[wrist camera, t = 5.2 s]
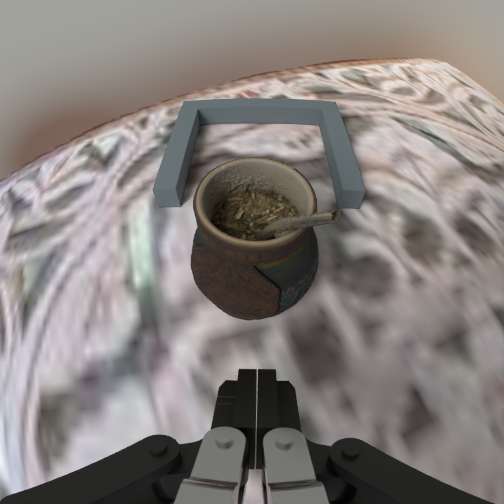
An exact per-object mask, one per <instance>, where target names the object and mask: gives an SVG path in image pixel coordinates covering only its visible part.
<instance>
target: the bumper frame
mask: <svg viewBox="0 0 504 504" xmlns="http://www.w3.org/2000/svg"><path fill="white" fill-rule="evenodd" d="M231 123H280V124H308V125H319V126H320V130H321V134H322V138H323V142H324V146H325V151H326V155H327V159H328V164H329V168H330V172H331V177H332V182H333V186H334V191H335V196H336V201H337V206H338V208H359V209H360V206H361V203H362V200H363V197H364V195H365V192H366V190H365V187H364V183H363V180H362V177H361V173H360V170H359V167H358V164H357V161H356V158H355V155H354V152H353V149H352V146H351V143H350V140H349V137H348V134H347V131H346V128H345V126H344V123H343V120H342V117H341V115H340V112H339V109H338V107H337V104H336V102H330V101H317V100H299V99H260V98H253V99H214V100H197V101H184V102H183V105H182V107H181V110H180V112H179V115H178V118H177V120H176V123H175V126H174V128H173V131H172V134H171V136H170V139H169V142H168V145H167V148H166V151H165V153H164V156H163V159H162V162H161V165H160V168H159V171H158V174H157V178H156V181H155V184H154V187H153V192H154V195H155V198H156V201H157V203H158V206H159V207H181V202H182V198H183V193H184V189H185V184H186V180H187V176H188V171H189V167H190V163H191V159H192V155H193V151H194V147H195V143H196V139H197V135H198V131H199V128H200V125H203V124H231Z"/></svg>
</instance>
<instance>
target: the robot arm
mask: <svg viewBox="0 0 504 504" xmlns="http://www.w3.org/2000/svg"><path fill="white" fill-rule="evenodd" d="M256 381H257V369H239V372H238V381H233V380H226V381H225V382H224V383H223V384H222V385H221V386H220V387H219V391H218V397H217V401H216V406H215V411H214V416H213V421H212V426H211V430H210V431H208V432H207V433H206V434H205V435H204V438H203V439H202V440H199V441H197V442H193V443H186V444H178V442H177V441H176V440H175V439H173V438H172V437H170V436H166V435H152V436H149V437H146V438H144V439H142V440H141V441H139V442H137V443H135V444H133V445H131V446H129V447H127V448H125V449H123V450H121V451H118V452H116V453H114V454H112V455H110V456H108V457H106V458H104V459H101V460H99V461H97V462H95V463H93V464H90V465H88V466H86V467H84V468H81V469H79V470H77V471H74V472H72V473H69V474H67V475H64V476H62V477H59V478H57V479H54V480H52V481H49V482H46V483H44V484H41V485H38V486H36V487H33V488H30V489H27V490H24V491H21V492H18V493H15V494H12V495H9V496H6V497H5V498H3V499H2V500H1V501H0V504H244V498H245V492H246V484H247V481H248V473H249V469H254V465H255V432H256ZM256 469H262V483H261V488H262V498H263V504H494V503H491V502H489V501H486V500H483V499H481V498H478V497H476V496H473V495H471V494H469V493H466V492H464V491H461V490H459V489H457V488H455V487H452V486H450V485H448V484H446V483H443V482H441V481H439V480H437V479H435V478H433V477H431V476H428V475H426V474H424V473H422V472H420V471H418V470H416V469H414V468H412V467H410V466H408V465H406V464H404V463H402V462H401V461H399V460H397V459H395V458H393V457H391V456H389V455H387V454H386V453H384V452H382V451H380V450H378V449H376V448H375V447H373V446H371V445H369V444H368V443H366V442H364V441H362V440H359V439H355V438H345V439H341V440H338V441H337V442H335V443H334V444H333V445H332V446H326V445H320V444H316V443H313V442H311V441H309V440H308V439H306V438H305V437H304V435H303V434H302V432H301V427H300V420H299V413H298V406H297V399H296V393H295V388H294V387H293V385H292V384H291V383H290V382H289V381H277V379H276V369H258V402H257V454H256Z"/></svg>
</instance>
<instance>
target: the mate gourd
mask: <svg viewBox="0 0 504 504" xmlns="http://www.w3.org/2000/svg"><path fill="white" fill-rule="evenodd" d="M282 162H283V161H281V162H279V161H276V160H272V159H265V158H242V159H237V160H233V161H229V162H227V163H224V164H222V165H220V166H217V167H216V168H214V169H213V170H212V171H210V172H209V173H208V174H207V175H206V176H205V177H204V178H203V179H202V181H201V182H200V183H199V185H198V187H197V189H196V192H195V195H194V200H193V209H194V213H195V217H196V222H197V226H198V228H197V230H196V232H195V236H194V239H193V246H192V255H191V269H192V273H193V276H194V280H195V283H196V285H197V286H198V288H199V289H200V290H201V292H202V293H203V294H204V295H205V296H206V297H207V298H208V299H209V300H210V301H211V302H212V303H214V304H215V305H216V306H217V307H218V308H219V309H221V310H222V311H223V312H225V313H227V314H228V315H230V316H232V317H235V318H239V319H243V320H253V319H254V320H255V319H256V320H258V319H264V318H268V317H273V316H275V315H278V314H280V313H281V312H283V311H285V310H287V309H288V308H290V307H292V306H293V305H294V304H296V303H297V302H298V300H299V299H301V297H303V295H304V294H305V293H306V292H307V291H308V290H309V287H310V286H311V283H312V282H313V279H314V276H315V273H316V272H317V267H318V256H319V255H318V244H317V239H316V235H315V232H314V230H313V226H316V225H322V224H326V223H327V224H328V223H334V222H335V221H336V220H337V219H338V218H339V216H340V212H341V210H340V208H339V209H337V210H331V211H329V212H328V211H326V212H324V213H320V214H318V213H317V198H316V195H315V192H314V190H313V188H312V186H311V184H310V183H309V181H308V180H307V179H306V178H305V177H304V176H303V175H302V174H301V173H300V172H299V171H298V170H296V169H294V168H293V169H292V168H291V167H289V166H287V165H285V164H284V163H282Z"/></svg>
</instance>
